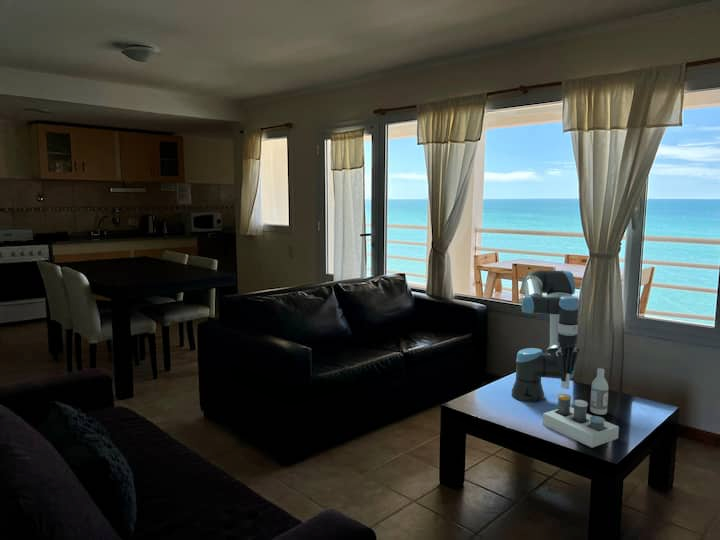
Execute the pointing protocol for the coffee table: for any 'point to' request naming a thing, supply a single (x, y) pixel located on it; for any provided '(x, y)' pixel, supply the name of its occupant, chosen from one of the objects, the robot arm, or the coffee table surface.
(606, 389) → the bath foam
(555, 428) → the mount
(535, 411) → the coffee table surface
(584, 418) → the knob
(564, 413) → the knob
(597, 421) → the knob
